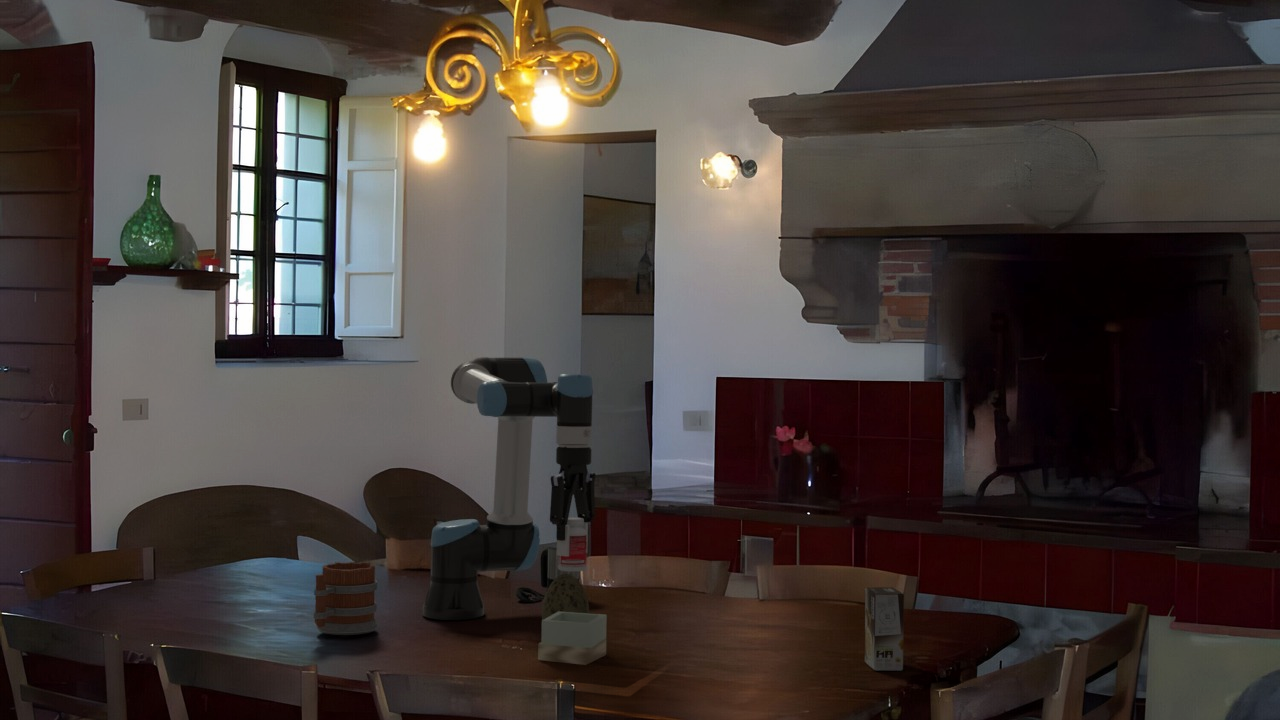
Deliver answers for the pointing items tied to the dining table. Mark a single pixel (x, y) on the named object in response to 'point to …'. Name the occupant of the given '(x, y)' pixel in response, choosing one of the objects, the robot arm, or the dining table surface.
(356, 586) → the mug
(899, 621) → the coffee box
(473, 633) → the dining table surface
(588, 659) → the tower base
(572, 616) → the tower top
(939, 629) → the dining table surface
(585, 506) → the robot arm
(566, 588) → the decorative egg
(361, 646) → the dining table surface
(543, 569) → the milk frother
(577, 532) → the pill bottle
